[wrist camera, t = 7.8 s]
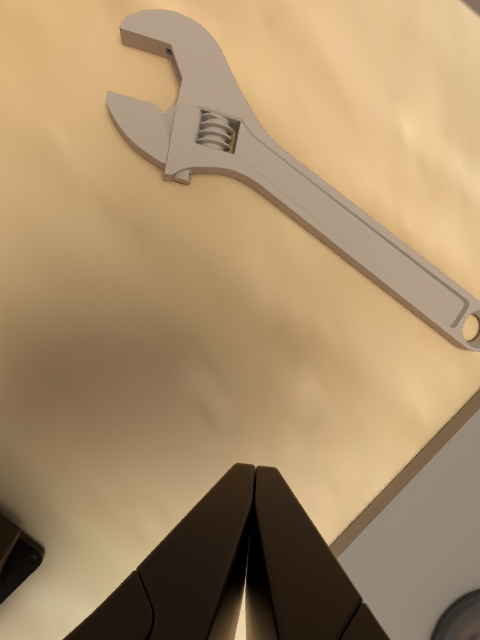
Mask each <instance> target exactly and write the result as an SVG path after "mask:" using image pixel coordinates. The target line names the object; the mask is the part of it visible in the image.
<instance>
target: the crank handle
mask: <svg viewBox="0 0 480 640" xmlns="http://www.w3.org/2000/svg"><path fill="white" fill-rule="evenodd" d="M434 640H480V593H477V594H474V595H472V596H470V597H468V598H466V599H465V600H463V601H461V602H460V603H459V604H458V605H456V606H455V607H454V608H453V609H452V610H451V611H450V612H449V613H448V615H447V616H446V617H445V618H444V620H443V621H442V623H441V625H440V626H439V628H438V630H437V633H436V635H435V638H434Z"/></svg>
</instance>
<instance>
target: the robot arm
mask: <svg viewBox="0 0 480 640" xmlns="http://www.w3.org/2000/svg"><path fill="white" fill-rule="evenodd" d="M30 555H34V556H36V557H37V559H31V558H30V557H29V556H30ZM44 556H45V552H44V549H43V548H42V547H41V546H39V545H38V544H37V543H36V542H34V541H33V540H32V539H31V538H29V537H28V536H27V535H25V534H24V533H23V532H22V531H20V529H19V528H18V527H17V526H16V525H14V524H13V523H12V522H11V521H9V520H8V519H7V518H6V517H4V516H3V515H2V514H0V604H1V603H2V602H3V601H4V600H5V599H6V598H7V597H8V596H9V595H10V594H11V593H12V592H13V591H14V590H15V589H16V588H17V587H18V586H19V585H21V584H22V583H23V582H24V581H25V580H26V579H27V578H28V577H29V576H30V575H31V574H32V573H33V572H34V571H35V570H36V569H37V568H38V567H39V566H40V564H41V563H42V561H43V559H44ZM247 558H248V560H247ZM246 568H247V571H246ZM245 577H246V587H245V609H246V640H391V639H390V638H389V637H388V635H387V634H386V632H385V631H384V629H383V628H382V627H381V625H380V624H379V622H378V621H377V619H376V618H375V616H374V615H373V613H372V611H371V610H370V608H369V607H368V605H367V604H366V603H363V598H362V597H361V595H360V594H359V592H358V591H357V589H356V587H355V586H354V584H353V583H352V581H351V580H350V578H349V577H348V575H347V574H346V572H345V571H344V569H343V568H342V566H341V565H340V563H339V562H338V560H337V559H336V557H335V556H334V554H333V553H332V551H331V550H330V548H329V547H328V545H327V544H326V542H325V540H324V539H323V537H322V536H321V534H320V533H319V531H318V530H317V528H316V527H315V525H314V524H313V522H312V521H311V519H310V518H309V516H308V515H307V513H306V512H305V510H304V509H303V507H302V506H301V504H300V503H299V501H298V500H297V498H296V497H295V495H294V493H293V492H292V490H291V489H290V487H289V486H288V484H287V483H286V481H285V480H284V478H283V477H282V475H281V474H280V472H279V471H278V469H277V468H275V467H268V466H257V467H256V472H255V466H254V465H251V464H242V463H236V464H234V465H233V466H232V467H231V468H230V469H229V470H228V472H227V473H226V474H225V475H224V476H223V477H222V478H221V479H220V480H219V481H218V482H217V483H216V484H215V485H214V486H213V487H212V488H211V490H210V491H209V492H208V493H207V494H206V495H205V496H204V497H203V498H202V499H201V500H200V501H199V502H198V503H197V504H196V505H195V506H194V508H193V509H192V510H191V511H190V512H189V513H188V514H187V515H186V516H185V517H184V518H183V519H182V520H181V521H180V522H179V523H178V524H177V526H176V527H175V528H174V529H173V530H172V531H171V532H170V533H169V534H168V535H167V536H166V537H165V538H164V539H163V540H162V541H161V542H160V544H159V545H158V546H157V547H156V548H155V549H154V550H153V551H152V552H151V553H150V554H149V555H148V556H147V557H146V558H145V559H144V560H143V562H142V563H141V564H140V565H139V566H138V567H137V569H136V570H135V571H133V572H132V573H131V574H130V575H129V576H128V577H127V578H126V579H125V580H124V581H123V582H122V583H121V585H120V586H119V587H118V588H117V589H116V590H115V591H114V592H113V593H112V594H111V595H110V596H109V597H108V598H107V599H106V600H105V601H104V602H103V603H102V604H101V605H100V606H99V607H98V608H97V609H96V610H95V611H94V612H93V613H92V614H90V615H89V616H88V617H87V618H86V619H85V620H84V621H83V622H82V623H80V624H79V625H78V626H77V627H76V628H75V629H74V630H73V631H72V632H70V633H69V634H68V635H67V636H66V637H65V638H64V639H63V640H234V638H235V633H236V628H237V624H238V619H239V614H240V609H241V604H242V598H243V593H244V586H245Z"/></svg>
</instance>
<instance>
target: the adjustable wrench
mask: <svg viewBox="0 0 480 640" xmlns="http://www.w3.org/2000/svg"><path fill="white" fill-rule="evenodd" d="M120 33H121V38H122V44H123V45H126V46H129V47H132V48H136V49H139V50H142V51H145V52H149V53H152V54H155V55H158V56H162V57H165V58H168V59H171V62H172V65H173V67H174V70H175V73H176V76H177V79H178V82H179V85H180V91H179V96H178V100H177V101H176V103H175V104H174V105H173V106H172V107H171V108H170V109H169V110H167V111H166V112H165V113H164V114H161V113H160V109H159V105H155V104H152V103H148V102H145V101H141V100H138V99H134V98H131V97H128V96H124V95H121V94H117V93H114V92H110V91H108V93H107V98H106V104H107V107H108V110H109V112H110V115H111V117H112V119H113V121H114V123H115V125H116V127H117V128H118V130H119V131H120V133H121V135H122V136H123V137H124V139H125V140H126V141H127V142H128V144H129V145H130V146H131V147H132V148H133V149H134V150H135V151H136V152H137V153H139V154H140V155H141V156H142V157H144V158H145V159H146V160H148V161H149V162H151V163H152V164H154V165H155V166H157V167H159V168H160V169H162V170H164V171H165V172H164V181H172V180H175V181H177V182H180V183H185V184H188V183H190V179H191V177H190V175H191V174H194V173H199V174H220V175H225V176H229V177H232V178H234V179H237V180H239V181H241V182H243V183H245V184H246V185H248V186H250V187H251V188H253V189H254V190H256V191H257V192H258V193H260V194H261V195H262V196H263V197H265V198H266V199H267V200H268V201H270V202H271V203H272V204H274V205H275V206H276V207H277V208H279V209H280V210H281V211H283V212H284V213H285V214H286V215H288V216H289V217H290V218H292V219H293V220H294V221H295V222H297V223H298V224H299V225H301V226H302V227H303V228H304V229H306V230H307V231H308V232H310V233H311V234H312V235H313V236H315V237H316V238H317V239H319V240H320V241H321V242H322V243H324V244H325V245H326V246H328V247H329V248H330V249H331V250H333V251H334V252H335V253H336V254H338V255H339V256H340V257H342V258H343V259H344V260H345V261H347V262H348V263H349V264H351V265H352V266H353V267H354V268H356V269H357V270H358V271H360V272H361V273H362V274H363V275H365V276H366V277H367V278H369V279H370V280H371V281H372V282H374V283H375V284H376V285H378V286H379V287H380V288H381V289H383V290H384V291H385V292H387V293H388V294H389V295H390V296H392V297H393V298H394V299H396V300H397V301H398V302H399V303H401V304H402V305H403V306H404V307H406V308H407V309H408V310H410V311H411V312H412V313H413V314H415V315H416V316H417V317H419V318H420V319H421V320H422V321H424V322H425V323H426V324H428V325H429V326H430V327H431V328H433V329H434V330H435V331H437V332H438V333H439V334H440V335H442V336H443V337H444V338H446V339H447V340H448V341H449V342H451V343H452V344H453V345H455V346H456V347H458V348H461V349H465V350H470V351H476V352H480V332H479V334H478V336H477V337H476V338H475V339H474V340H473V341H471V342H466V341H465V339H464V337H463V331H462V330H463V324H464V322H465V320H466V318H467V317H468V316H469V315H470V314H475V315H476V316H477V317H478V319H479V321H480V301H479V300H478V299H476V298H475V297H474V296H473V295H471V294H470V293H469V292H467V291H466V290H465V289H464V288H462V287H461V286H460V285H458V284H457V283H456V282H455V281H453V280H452V279H451V278H449V277H448V276H447V275H445V274H444V273H443V272H442V271H440V270H439V269H438V268H436V267H435V266H434V265H433V264H431V263H430V262H429V261H427V260H426V259H425V258H424V257H422V256H421V255H420V254H418V253H417V252H416V251H415V250H413V249H412V248H411V247H409V246H408V245H407V244H406V243H404V242H403V241H402V240H400V239H399V238H398V237H396V236H395V235H394V234H393V233H391V232H390V231H389V230H387V229H386V228H385V227H384V226H382V225H381V224H380V223H378V222H377V221H376V220H375V219H373V218H372V217H371V216H369V215H368V214H367V213H366V212H364V211H363V210H362V209H360V208H359V207H358V206H357V205H355V204H354V203H353V202H351V201H350V200H349V199H347V198H346V197H345V196H344V195H342V194H341V193H340V192H338V191H337V190H336V189H335V188H333V187H332V186H331V185H329V184H328V183H327V182H326V181H324V180H323V179H322V178H320V177H319V176H318V175H317V174H315V173H314V172H313V171H311V170H310V169H309V168H308V167H306V166H305V165H304V164H302V163H301V162H300V161H298V160H297V159H296V158H295V157H293V156H292V155H291V154H289V153H288V152H287V151H286V150H284V149H283V148H282V147H281V146H280V145H279V144H278V143H277V142H276V141H274V140H273V139H272V138H271V137H270V135H269V134H268V133H267V131H266V130H265V129H264V128H263V126H262V125H261V124H260V122H259V120H258V119H257V117H256V115H255V114H254V112H253V111H252V109H251V107H250V106H249V104H248V102H247V101H246V99H245V97H244V95H243V94H242V92H241V90H240V88H239V86H238V84H237V82H236V80H235V78H234V76H233V74H232V72H231V69H230V67H229V65H228V63H227V61H226V59H225V57H224V55H223V53H222V50H221V48H220V46H219V45H218V44H217V42H216V41H215V39H214V38H213V37H212V36H211V35H210V33H209V32H208V31H207V30H206V29H205V28H203V27H202V26H201V25H200V24H199V23H197V22H196V21H194V20H193V19H191V18H189V17H186V16H184V15H182V14H180V13H178V12H174V11H168V10H163V9H162V10H142V11H139V12H137V13H134V14H131V15H129V16H126V17H125V18H124V19H123V21H122V22H121V25H120ZM233 129H235V130H237V132H236V138H235V143H234V148H233V153H229V152H225V151H229V150H230V146H229V145H228V144H229V143H231V142H232V139H231V137H230V135H233Z"/></svg>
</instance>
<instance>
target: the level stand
mask: <svg viewBox="0 0 480 640" xmlns="http://www.w3.org/2000/svg"><path fill="white" fill-rule="evenodd" d="M329 548H330V550H331V551H332V553H333V554H334V556H335V557H336V559H337V560H338V562H339V563H340V565H341V566H342V568H343V569H344V571H345V572H346V574H347V575H348V577H349V578H350V580H351V581H352V583H353V584H354V586H355V587H356V589H357V591H358V592H359V594H360V595H361V597H362V598H363V603H366V604H367V605H368V607H369V608H370V610H371V611H372V613H373V615H374V616H375V618H376V619H377V621H378V622H379V624H380V625H381V627H382V628H383V629H384V631H385V632H386V634H387V635H388V637H389V638H390V639H391V640H434V638H435V635H436V633H437V630H438V628H439V626H440V625H441V623H442V621H443V620H444V618H445V617H446V616H447V615H448V613H449V612H450V611H451V610H452V609H453V608H454V607H455V606H456V605H458V604H459V603H460V602H461V601H463V600H465V599H466V598H468V597H470V596H472V595H474V594H477V593H480V390H479V391H478V392H477V393H476V394H475V395H474V396H473V397H472V398H471V400H470V401H469V402H468V403H467V404H466V405H465V406H464V407H463V408H462V409H461V410H460V411H459V412H458V413H457V414H456V415H455V416H454V417H453V418H452V419H451V420H450V422H449V423H448V424H447V425H446V426H445V427H444V428H443V429H442V430H441V431H440V432H439V433H438V434H437V435H436V436H435V437H434V438H433V439H432V440H431V441H430V442H429V443H428V445H427V446H426V447H425V448H424V449H423V450H422V451H421V452H420V453H419V454H418V455H417V456H416V457H415V458H414V459H413V460H412V461H411V462H410V463H409V464H408V465H407V467H406V468H405V469H404V470H403V471H402V472H401V473H400V474H399V475H398V476H397V477H396V478H395V479H394V480H393V481H392V482H391V483H390V484H389V485H388V486H387V487H386V488H385V490H384V491H383V492H382V493H381V494H380V495H379V496H378V497H377V498H376V499H375V500H374V501H373V502H372V503H371V504H370V505H369V506H368V507H367V508H366V509H365V510H364V512H363V513H362V514H361V515H360V516H359V517H358V518H357V519H356V520H355V521H354V522H353V523H352V524H351V525H350V526H349V527H348V528H347V529H346V530H345V531H344V532H343V533H342V535H341V536H340V537H339V538H338V539H337V540H336V541H335V542H334V543H333V544H332V545H331V546H330V547H329Z"/></svg>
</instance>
